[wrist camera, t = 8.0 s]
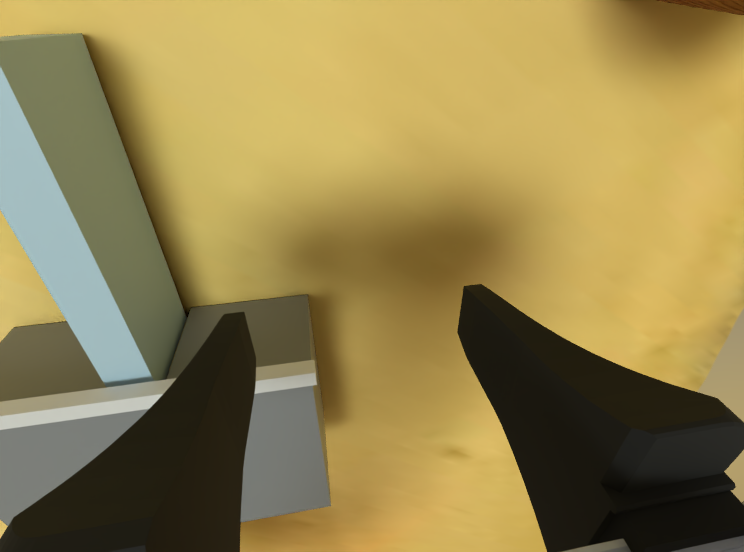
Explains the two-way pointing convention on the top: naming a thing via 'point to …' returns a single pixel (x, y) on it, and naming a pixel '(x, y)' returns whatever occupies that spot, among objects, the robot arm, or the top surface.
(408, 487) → the top surface
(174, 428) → the robot arm
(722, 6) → the disposable coffee cup
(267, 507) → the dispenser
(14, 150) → the light blue rectangular block
